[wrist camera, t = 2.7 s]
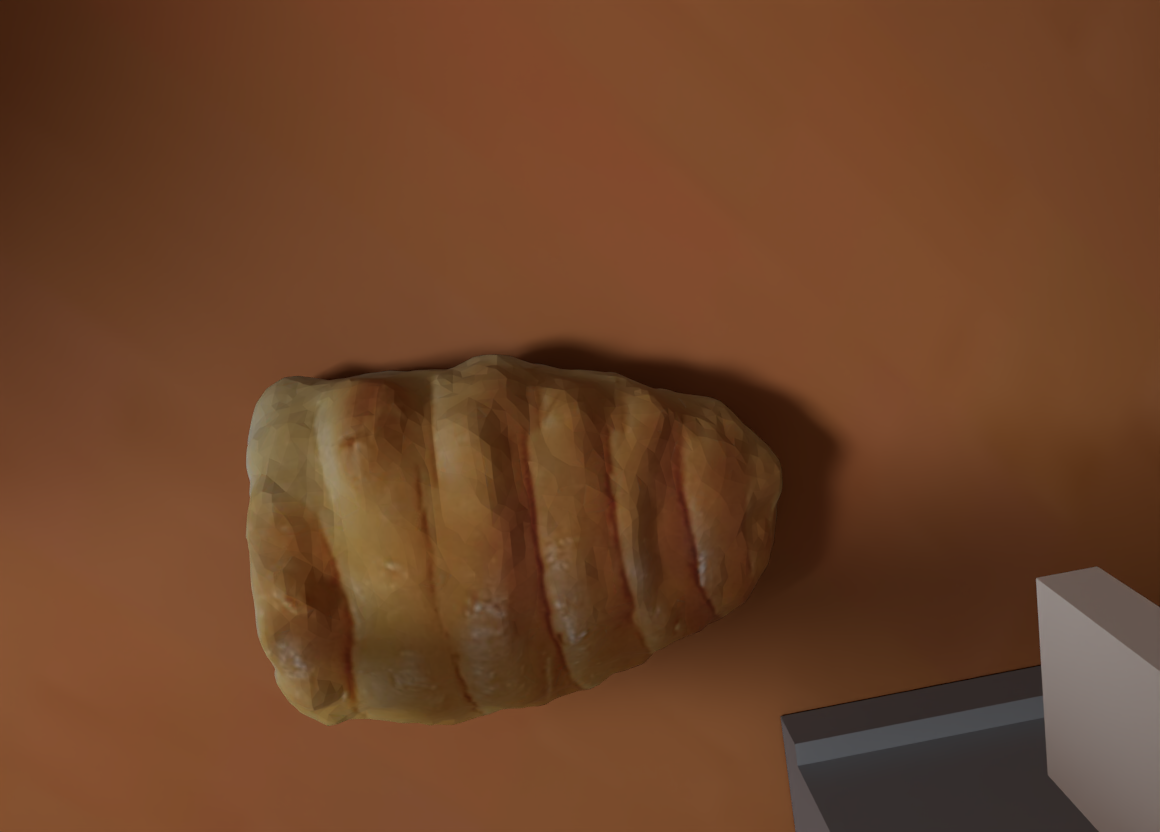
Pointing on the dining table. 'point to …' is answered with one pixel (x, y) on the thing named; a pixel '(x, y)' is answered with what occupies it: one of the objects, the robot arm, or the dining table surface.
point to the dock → (929, 762)
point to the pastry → (492, 533)
